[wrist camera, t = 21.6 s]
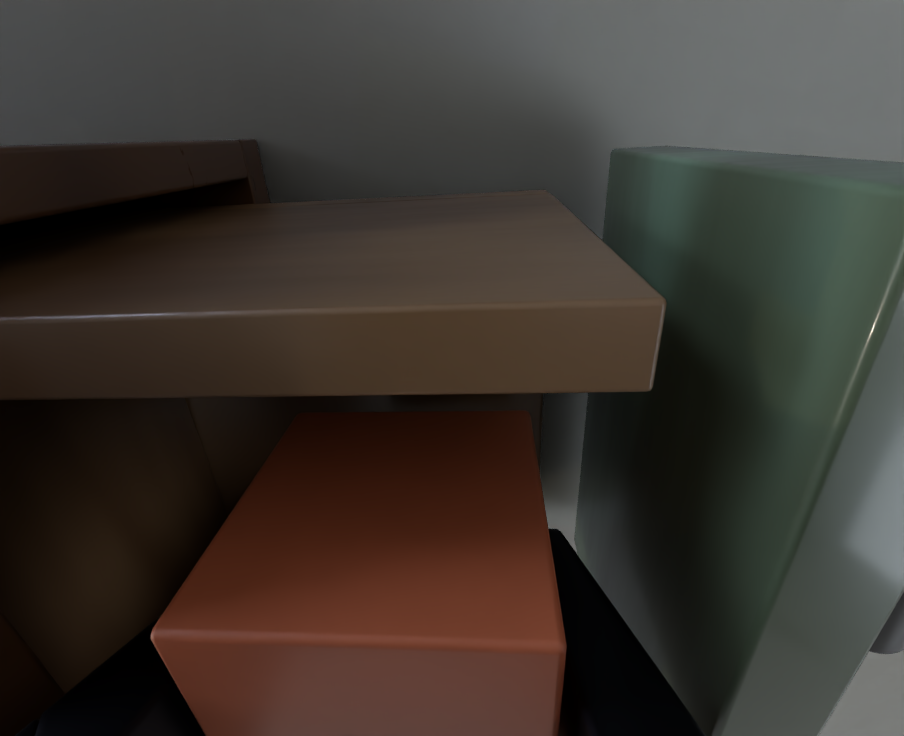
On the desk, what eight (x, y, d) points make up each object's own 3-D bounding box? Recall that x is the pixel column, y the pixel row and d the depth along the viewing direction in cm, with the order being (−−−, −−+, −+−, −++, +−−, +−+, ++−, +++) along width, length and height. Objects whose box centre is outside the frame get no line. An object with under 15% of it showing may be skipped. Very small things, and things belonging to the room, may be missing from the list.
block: (525, 573, 9) (549, 842, 6) (335, 570, 10) (249, 821, 6) (530, 408, 8) (568, 650, 4) (296, 410, 8) (142, 635, 4)
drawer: (890, 132, 9) (2145, 133, 2) (752, 541, 14) (1001, 921, 7) (108, 176, 11) (-614, 260, 4) (239, 534, 16) (45, 850, 9)
